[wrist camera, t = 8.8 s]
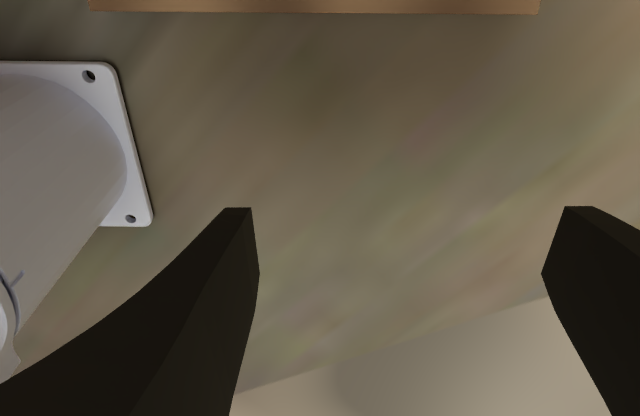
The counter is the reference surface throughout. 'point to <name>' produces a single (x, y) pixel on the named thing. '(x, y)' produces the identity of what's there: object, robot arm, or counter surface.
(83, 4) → the counter surface
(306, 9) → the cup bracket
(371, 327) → the counter surface
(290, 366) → the counter surface
